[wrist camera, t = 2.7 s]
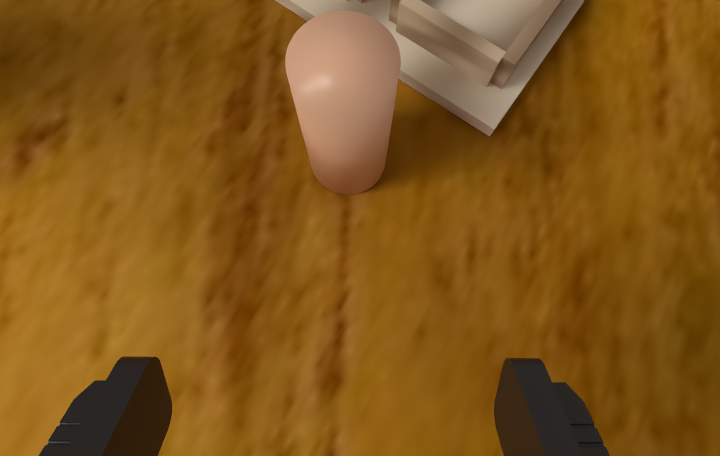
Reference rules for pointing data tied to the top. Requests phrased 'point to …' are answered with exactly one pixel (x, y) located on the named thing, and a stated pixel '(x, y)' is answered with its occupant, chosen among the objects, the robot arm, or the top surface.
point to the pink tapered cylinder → (344, 96)
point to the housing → (463, 46)
